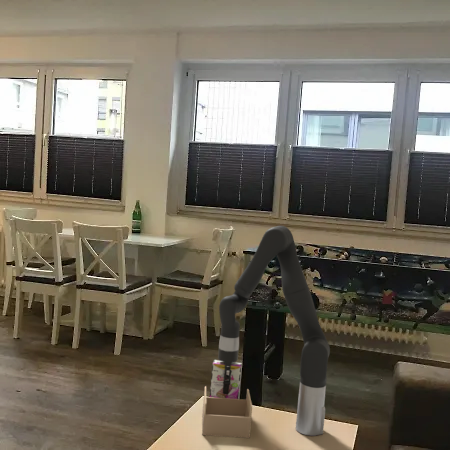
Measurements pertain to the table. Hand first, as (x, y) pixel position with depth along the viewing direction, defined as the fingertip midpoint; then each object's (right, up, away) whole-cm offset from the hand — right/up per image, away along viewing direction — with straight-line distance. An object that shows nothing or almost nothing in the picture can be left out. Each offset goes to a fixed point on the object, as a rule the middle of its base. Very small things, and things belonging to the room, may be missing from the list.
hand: (225, 390), depth 216 cm
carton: (0, -8, -15) cm, 17 cm away
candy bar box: (0, -6, 0) cm, 6 cm away
